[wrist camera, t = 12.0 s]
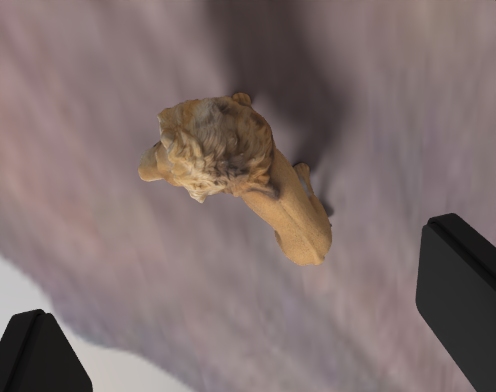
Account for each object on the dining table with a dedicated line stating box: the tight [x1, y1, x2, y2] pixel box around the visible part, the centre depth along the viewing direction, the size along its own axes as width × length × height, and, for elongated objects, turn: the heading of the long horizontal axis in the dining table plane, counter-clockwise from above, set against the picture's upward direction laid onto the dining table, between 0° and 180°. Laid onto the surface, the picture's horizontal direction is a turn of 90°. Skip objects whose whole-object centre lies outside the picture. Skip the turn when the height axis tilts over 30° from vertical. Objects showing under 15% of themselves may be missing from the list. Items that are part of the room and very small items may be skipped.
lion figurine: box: [138, 93, 332, 265], centre depth 21 cm, size 15×5×9 cm, turn 45°
